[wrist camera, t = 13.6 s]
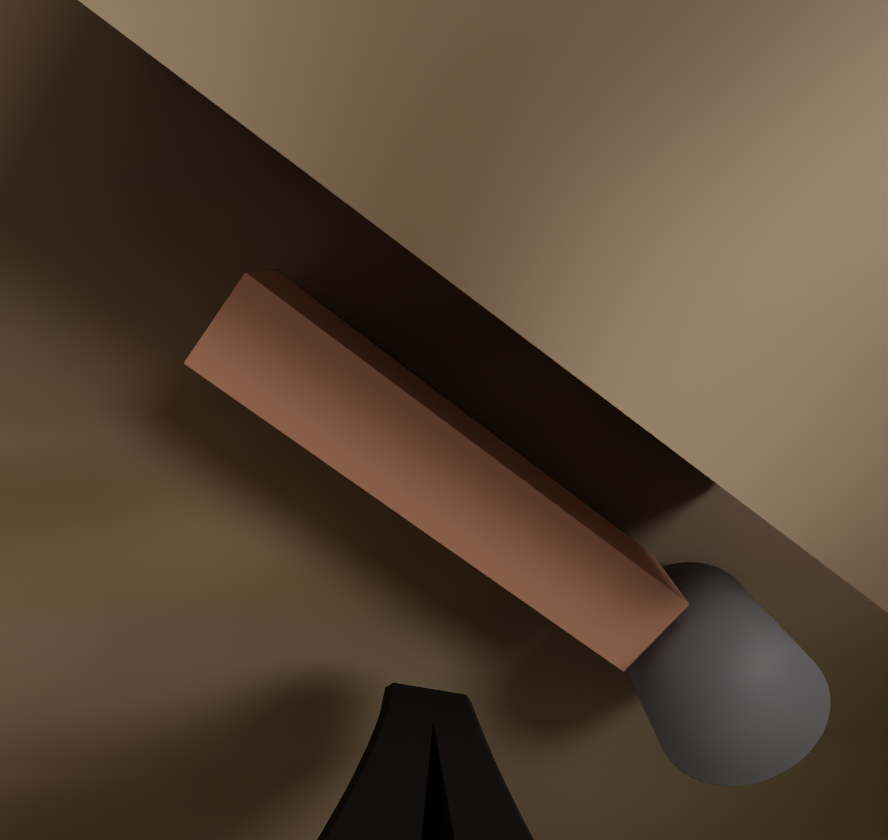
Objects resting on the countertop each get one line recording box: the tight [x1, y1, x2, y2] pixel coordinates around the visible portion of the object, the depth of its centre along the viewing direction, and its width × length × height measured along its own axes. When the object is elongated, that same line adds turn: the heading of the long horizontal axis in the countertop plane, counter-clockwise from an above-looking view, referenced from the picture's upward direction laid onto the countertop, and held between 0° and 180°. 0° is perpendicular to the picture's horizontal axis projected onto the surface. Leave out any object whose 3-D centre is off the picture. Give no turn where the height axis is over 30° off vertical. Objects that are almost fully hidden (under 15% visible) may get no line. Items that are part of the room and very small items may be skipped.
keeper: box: [184, 270, 831, 786], centre depth 9 cm, size 11×3×2 cm, turn 52°
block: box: [78, 0, 888, 613], centre depth 7 cm, size 12×7×4 cm, turn 54°
